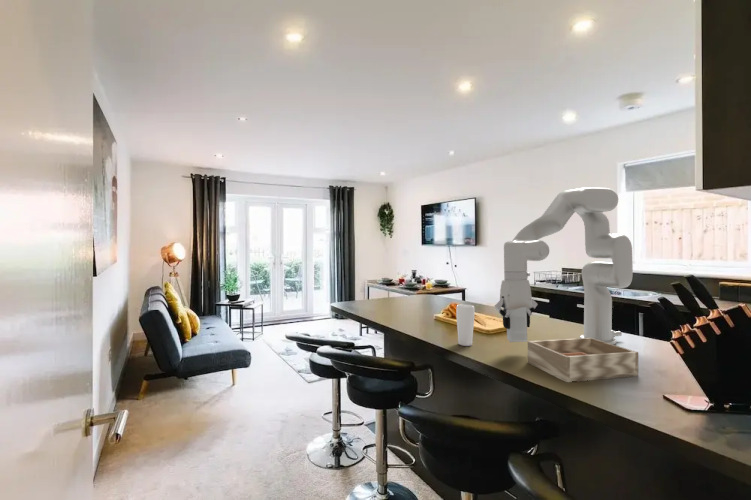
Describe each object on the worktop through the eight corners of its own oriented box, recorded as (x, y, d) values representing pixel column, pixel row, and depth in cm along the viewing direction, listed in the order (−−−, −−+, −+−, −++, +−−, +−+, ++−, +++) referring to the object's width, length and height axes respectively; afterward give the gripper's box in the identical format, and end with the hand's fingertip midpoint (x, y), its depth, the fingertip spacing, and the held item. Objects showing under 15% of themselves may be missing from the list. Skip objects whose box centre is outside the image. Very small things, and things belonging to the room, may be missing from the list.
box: (590, 358, 128) (591, 337, 128) (638, 376, 110) (638, 352, 110) (527, 362, 123) (527, 341, 123) (566, 382, 105) (566, 357, 105)
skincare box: (524, 338, 134) (523, 305, 134) (527, 342, 130) (527, 307, 130) (506, 338, 135) (505, 305, 135) (509, 342, 131) (508, 307, 130)
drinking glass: (462, 341, 150) (462, 303, 150) (477, 344, 145) (477, 305, 145) (452, 344, 145) (452, 305, 145) (468, 347, 141) (468, 307, 140)
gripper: (531, 274, 137) (532, 323, 138) (487, 276, 134) (488, 326, 134) (544, 276, 130) (545, 327, 130) (498, 278, 126) (499, 331, 127)
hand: (516, 326), depth 132 cm, fingers closed on skincare box, 6 cm apart
